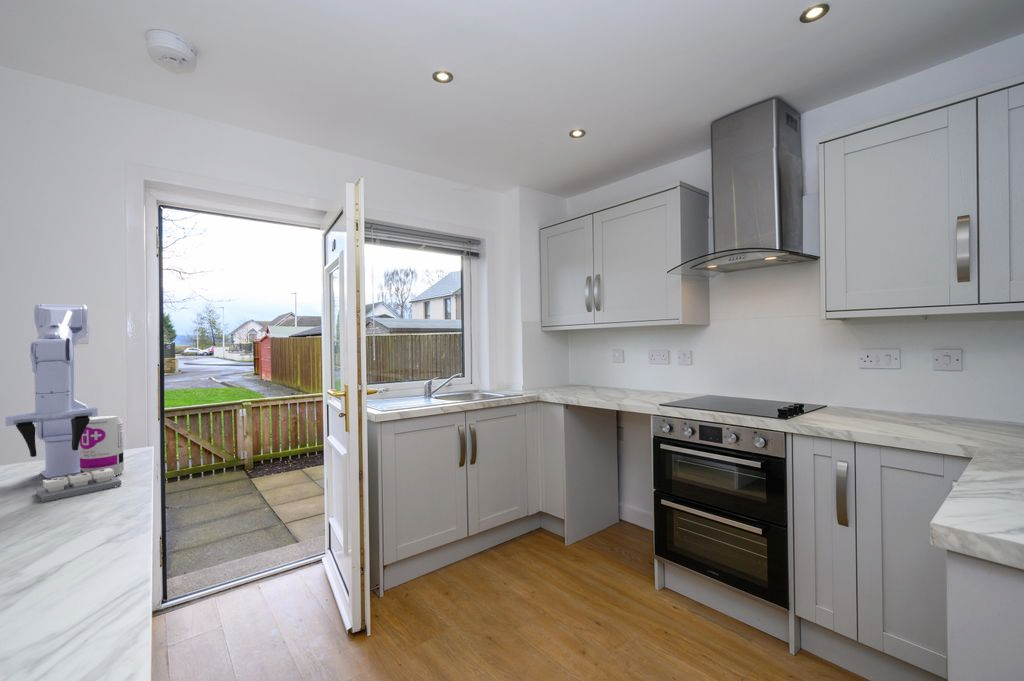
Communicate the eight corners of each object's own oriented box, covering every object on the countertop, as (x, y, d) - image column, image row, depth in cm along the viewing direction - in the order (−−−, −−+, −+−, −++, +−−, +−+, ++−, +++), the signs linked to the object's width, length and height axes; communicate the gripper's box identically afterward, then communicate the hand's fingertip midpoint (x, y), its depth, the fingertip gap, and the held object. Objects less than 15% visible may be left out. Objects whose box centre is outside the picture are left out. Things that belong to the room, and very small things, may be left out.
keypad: (36, 493, 104) (36, 488, 104) (110, 478, 114) (110, 474, 114) (43, 502, 98) (43, 496, 98) (121, 485, 109) (121, 480, 109)
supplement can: (103, 481, 112) (102, 420, 112) (70, 481, 113) (69, 420, 112) (132, 471, 121) (130, 414, 120) (101, 471, 121) (99, 414, 121)
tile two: (67, 485, 106) (67, 475, 106) (87, 482, 109) (87, 471, 109) (70, 488, 104) (70, 477, 104) (91, 484, 107) (91, 473, 107)
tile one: (90, 481, 109) (90, 470, 109) (109, 477, 112) (109, 467, 112) (94, 484, 107) (94, 473, 107) (113, 480, 110) (113, 469, 110)
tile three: (43, 490, 103) (42, 479, 103) (64, 486, 105) (64, 475, 105) (45, 493, 101) (45, 482, 101) (67, 489, 103) (67, 478, 103)
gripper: (7, 397, 95) (9, 463, 95) (100, 390, 106) (101, 448, 106) (3, 394, 99) (4, 457, 99) (92, 388, 110) (94, 444, 111)
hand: (54, 452), depth 103 cm, fingers open, 6 cm apart
